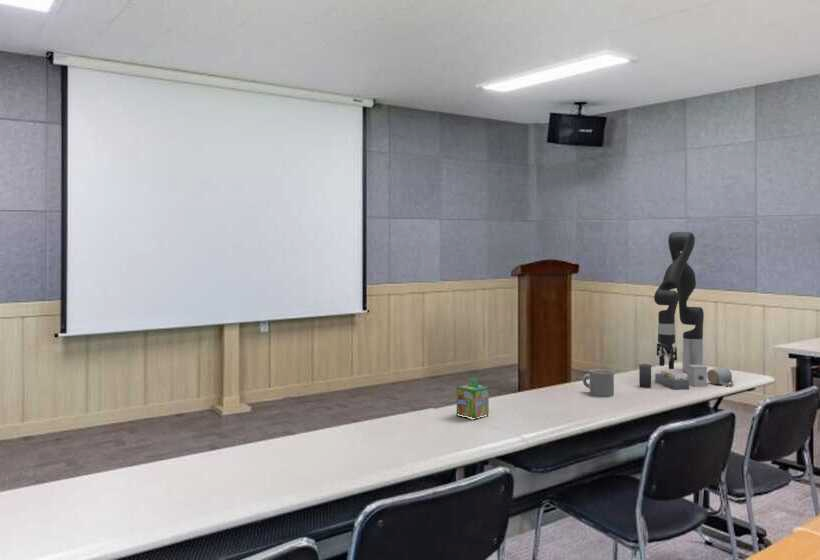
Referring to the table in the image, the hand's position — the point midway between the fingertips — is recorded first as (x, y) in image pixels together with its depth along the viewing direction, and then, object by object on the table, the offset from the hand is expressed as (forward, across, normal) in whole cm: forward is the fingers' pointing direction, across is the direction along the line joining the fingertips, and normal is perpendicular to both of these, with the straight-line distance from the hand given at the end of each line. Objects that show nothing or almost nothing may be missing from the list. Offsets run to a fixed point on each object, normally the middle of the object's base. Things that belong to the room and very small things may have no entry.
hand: (666, 367), depth 294 cm
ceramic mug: (+8, +6, +24) cm, 26 cm away
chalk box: (+8, +42, -101) cm, 110 cm away
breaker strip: (+8, +4, 0) cm, 9 cm away
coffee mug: (+8, +14, -39) cm, 42 cm away
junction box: (+8, +5, +12) cm, 15 cm away
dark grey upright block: (+8, +5, -13) cm, 16 cm away
